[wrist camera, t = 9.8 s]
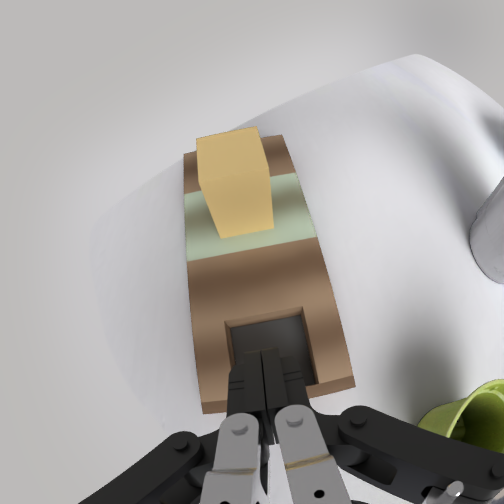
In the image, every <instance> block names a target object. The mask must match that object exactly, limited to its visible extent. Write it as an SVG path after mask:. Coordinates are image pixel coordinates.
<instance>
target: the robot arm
mask: <svg viewBox="0 0 504 504" xmlns="http://www.w3.org/2000/svg"><path fill="white" fill-rule="evenodd" d="M470 245H471V250H472V252H473V255H474V258H475V260H476V262H477V264H478V265H479V267H480V268H481V270H482V271H483V272H484V273H485V274H486V275H487V276H488V277H489V278H490V279H492V280H493V281H495V282H497V283H501V284H504V177H503V178H502V180H501V181H500V183H499V184H498V185H497V187H496V188H495V190H494V191H493V192H492V194H491V195H490V196H489V198H488V199H487V200H486V202H485V203H484V204H483V206H482V207H481V208H480V209H479V211H478V212H477V219H476V221H475V222H474V223H473V224H472V227H471V229H470ZM273 433H274V434H273ZM274 437H275V441H276V444H280V448H281V452H282V457H283V461H284V465H285V470H286V474H287V478H288V482H289V487H290V491H291V495H292V499H293V503H294V504H368V503H365V502H361V501H355V500H350V498H349V495H348V492H347V490H346V487H345V485H344V482H343V479H342V477H341V474H340V472H339V469H338V466H339V467H340V468H341V469H343V470H344V471H346V472H348V473H350V474H352V475H354V476H356V477H357V478H359V479H361V480H363V481H365V482H367V483H369V484H371V485H373V486H375V487H377V488H380V489H382V490H384V491H386V492H388V493H390V494H392V495H395V496H397V497H399V498H402V499H404V500H406V501H409V502H411V503H414V504H490V503H491V501H492V499H493V498H494V497H495V496H496V495H497V494H498V493H499V492H500V491H501V490H502V489H503V488H504V454H503V453H499V452H495V451H492V450H488V449H484V448H481V447H477V446H474V445H470V444H467V443H464V442H461V441H457V440H454V439H451V438H448V437H445V436H442V435H439V434H436V433H434V432H431V431H428V430H425V429H422V428H420V427H417V426H414V425H412V424H409V423H407V422H404V421H401V420H399V419H396V418H394V417H391V416H389V415H386V414H384V413H382V412H379V411H377V410H375V409H372V408H370V407H367V406H353V407H350V408H348V409H346V410H345V411H343V412H342V413H341V415H324V414H321V413H318V412H316V411H315V410H314V409H313V408H312V407H311V405H310V403H309V399H308V395H307V391H306V387H305V383H304V380H303V376H302V372H301V368H300V365H299V362H298V361H297V360H296V359H295V358H294V357H293V356H287V357H282V358H280V355H279V349H278V347H274V348H268V349H262V354H261V350H257V351H251V352H244V364H240V365H234V366H233V368H232V369H231V371H230V372H229V378H228V396H227V416H226V419H225V420H224V421H223V422H222V423H221V425H220V428H219V429H218V430H216V431H214V432H212V433H210V434H207V435H204V436H200V437H197V436H196V435H195V434H193V433H191V432H187V431H182V432H177V433H174V434H172V435H171V436H169V437H168V438H167V439H165V440H164V441H163V442H162V443H161V444H159V445H158V446H157V447H156V448H155V449H153V450H152V451H151V452H149V453H148V454H147V455H145V456H144V457H143V458H142V459H140V460H139V461H138V462H137V463H135V464H134V465H132V466H131V467H130V468H128V469H127V470H126V471H125V472H123V473H122V474H120V475H119V476H118V477H116V478H115V479H113V480H112V481H111V482H110V483H108V484H107V485H105V486H104V487H102V488H101V489H99V490H98V491H96V492H95V493H93V494H92V495H90V496H89V497H87V498H86V499H84V500H83V501H81V502H80V503H78V504H199V503H200V504H270V459H269V457H270V453H269V445H274V444H275V443H274ZM337 465H338V466H337Z"/></svg>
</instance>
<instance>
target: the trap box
mask: <svg viewBox="0 0 504 504" xmlns="http://www.w3.org/2000/svg"><path fill="white" fill-rule="evenodd" d="M260 139H261V142H262V146H263V149H264V153H265V156H266V160H267V163H268V167H269V174H270V185H271V197H272V209H273V221H274V228H273V229H268V230H263V231H258V232H253V233H247V234H242V235H237V236H232V237H227V238H222V239H221V238H220V236H219V233H218V231H217V228H216V226H215V223H214V221H213V218H212V216H211V213H210V211H209V208H208V205H207V203H206V200H205V198H204V195H203V193H202V190H201V187H200V185H199V181H198V164H197V151H195V152H190V153H186V154H184V211H185V237H186V256H187V272H188V287H189V299H190V311H191V322H192V332H193V342H194V351H195V359H196V368H197V376H198V383H199V391H200V398H201V405H202V411H203V414H212V413H223V412H227V396H228V378H229V372H230V371H231V369H232V368H233V366H234V365H240V364H244V352H251V351H257V350H261V354H262V349H268V348H274V347H278V349H279V355H280V358H282V357H287V356H293V357H294V358H295V359H296V360H297V361H298V362H299V365H300V368H301V372H302V376H303V380H304V383H305V386H306V391H307V395H308V399H310V398H314V397H318V396H323V395H327V394H331V393H335V392H339V391H342V390H346V389H350V388H353V387H356V386H355V381H354V376H353V372H352V367H351V363H350V358H349V354H348V349H347V345H346V341H345V337H344V333H343V329H342V324H341V321H340V317H339V313H338V309H337V305H336V301H335V297H334V294H333V290H332V286H331V283H330V279H329V276H328V272H327V269H326V265H325V262H324V258H323V255H322V251H321V248H320V245H319V242H318V238H317V235H316V232H315V229H314V225H313V222H312V219H311V216H310V213H309V210H308V207H307V204H306V201H305V198H304V195H303V192H302V189H301V186H300V183H299V180H298V177H297V174H296V171H295V169H294V166H293V163H292V160H291V157H290V155H289V152H288V149H287V147H286V144H285V141H284V139H283V136H282V135H277V136H270V137H264V138H260ZM301 319H302V320H301ZM302 323H303V324H302ZM303 328H304V329H303ZM304 332H305V333H304ZM305 337H306V338H305ZM306 342H307V343H306ZM307 347H308V348H307ZM233 349H234V350H233ZM308 351H309V352H308ZM234 356H235V357H234ZM309 356H310V357H309ZM310 361H311V362H310ZM311 366H312V367H311ZM312 371H313V372H312ZM313 376H314V377H313ZM314 381H315V382H314ZM312 384H315V385H312ZM308 385H310V386H308Z"/></svg>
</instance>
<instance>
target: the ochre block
mask: <svg viewBox="0 0 504 504" xmlns="http://www.w3.org/2000/svg"><path fill="white" fill-rule="evenodd" d="M196 141H197V142H196V144H197V164H198V181H199V185H200V187H201V190H202V193H203V195H204V198H205V200H206V203H207V205H208V208H209V211H210V213H211V216H212V218H213V221H214V223H215V226H216V228H217V231H218V233H219V236H220V238H221V239H222V238H227V237H232V236H237V235H242V234H247V233H253V232H258V231H263V230H268V229H273V228H274V221H273V209H272V197H271V185H270V174H269V167H268V163H267V160H266V156H265V153H264V149H263V146H262V142H261V139H260V136H259V132H258V129H257V126H255V127H250V128H244V129H239V130H234V131H229V132H224V133H219V134H214V135H210V136H205V137H201V138H197V139H196Z"/></svg>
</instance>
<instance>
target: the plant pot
mask: <svg viewBox="0 0 504 504" xmlns="http://www.w3.org/2000/svg"><path fill="white" fill-rule="evenodd" d="M458 418H459V422H458V423H457V420H458ZM417 427H420V428H422V429H425V430H428V431H431V432H434V433H436V434H439V435H442V436H445V437H448V438H451V439H454V440H457V441H461V442H464V443H467V444H470V445H474V446H477V447H481V448H484V449H488V450H492V451H495V452H499V453H503V454H504V379H496V380H492V381H490V382H487V383H485V384H483V385H482V386H480V387H479V388H477V389H476V390H475V391H474V392H472V393H471V394H470V395H469V396H468V397H467V398H464V399H461V400H458V401H455V402H451V403H448V404H444V405H441V406H438V407H436V408H434V409H432V410H431V411H429V412H428V413H427V414H426V415H425V416H424V417H423V418H422V419H421V421H420V422H419V424H418V426H417Z"/></svg>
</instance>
